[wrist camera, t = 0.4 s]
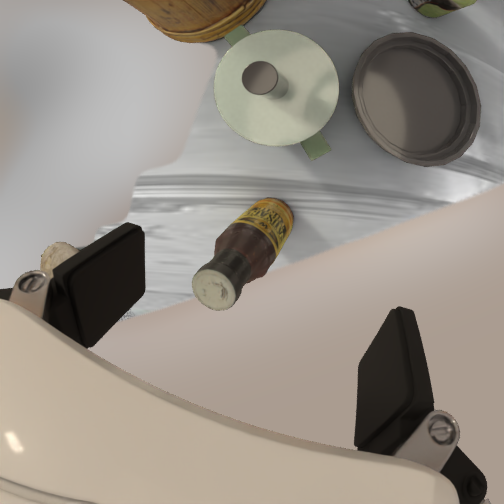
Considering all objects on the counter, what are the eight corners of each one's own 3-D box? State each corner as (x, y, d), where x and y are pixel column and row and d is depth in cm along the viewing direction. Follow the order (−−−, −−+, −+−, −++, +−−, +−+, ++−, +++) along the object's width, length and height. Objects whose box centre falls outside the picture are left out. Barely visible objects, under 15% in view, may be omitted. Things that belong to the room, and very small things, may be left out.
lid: (292, 13, 21) (279, -13, 15) (362, 108, 24) (371, 104, 18) (197, 76, 27) (164, 69, 21) (259, 167, 30) (239, 179, 24)
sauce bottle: (303, 213, 39) (272, 294, 21) (278, 245, 42) (233, 337, 25) (264, 185, 38) (200, 243, 21) (241, 219, 42) (172, 294, 24)
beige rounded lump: (50, 246, 59) (21, 263, 50) (82, 225, 52) (48, 245, 43) (82, 306, 65) (58, 327, 56) (120, 298, 58) (92, 324, 49)
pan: (425, 27, 22) (434, 17, 18) (483, 134, 26) (498, 137, 22) (326, 71, 29) (325, 64, 26) (390, 180, 33) (397, 188, 29)
